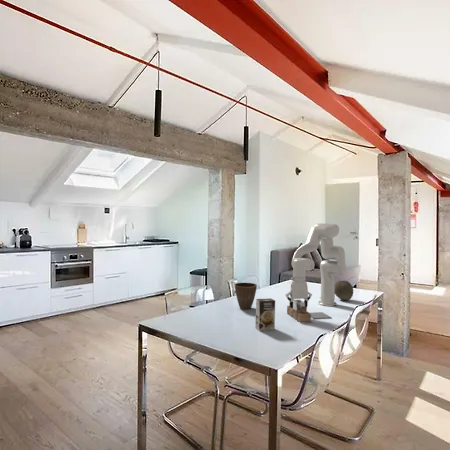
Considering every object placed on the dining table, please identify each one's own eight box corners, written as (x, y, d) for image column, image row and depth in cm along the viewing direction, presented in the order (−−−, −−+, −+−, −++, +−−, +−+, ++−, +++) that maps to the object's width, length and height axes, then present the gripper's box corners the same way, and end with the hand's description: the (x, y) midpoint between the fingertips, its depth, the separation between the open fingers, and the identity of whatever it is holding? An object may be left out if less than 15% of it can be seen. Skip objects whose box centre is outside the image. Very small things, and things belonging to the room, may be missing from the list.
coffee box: (259, 331, 183) (259, 301, 183) (255, 327, 189) (255, 298, 189) (275, 330, 185) (275, 300, 185) (270, 326, 191) (270, 297, 191)
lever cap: (292, 308, 213) (292, 299, 213) (300, 308, 214) (300, 299, 214) (296, 311, 206) (297, 302, 206) (304, 310, 207) (304, 301, 207)
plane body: (286, 313, 219) (287, 299, 219) (297, 313, 220) (297, 299, 220) (299, 322, 199) (299, 307, 199) (310, 322, 201) (310, 307, 201)
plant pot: (255, 311, 222) (255, 287, 221) (232, 310, 225) (232, 286, 224) (257, 306, 236) (257, 283, 236) (236, 304, 239) (236, 282, 239)
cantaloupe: (350, 298, 265) (350, 279, 265) (355, 302, 251) (355, 282, 251) (331, 297, 267) (332, 278, 267) (335, 302, 253) (336, 281, 253)
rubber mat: (305, 313, 219) (305, 312, 219) (322, 313, 221) (322, 312, 221) (313, 319, 207) (313, 318, 207) (331, 318, 210) (331, 317, 210)
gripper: (287, 280, 204) (287, 309, 204) (315, 280, 207) (314, 308, 208) (283, 278, 212) (282, 306, 212) (309, 278, 215) (309, 305, 215)
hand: (298, 307), depth 210 cm, fingers open, 8 cm apart
